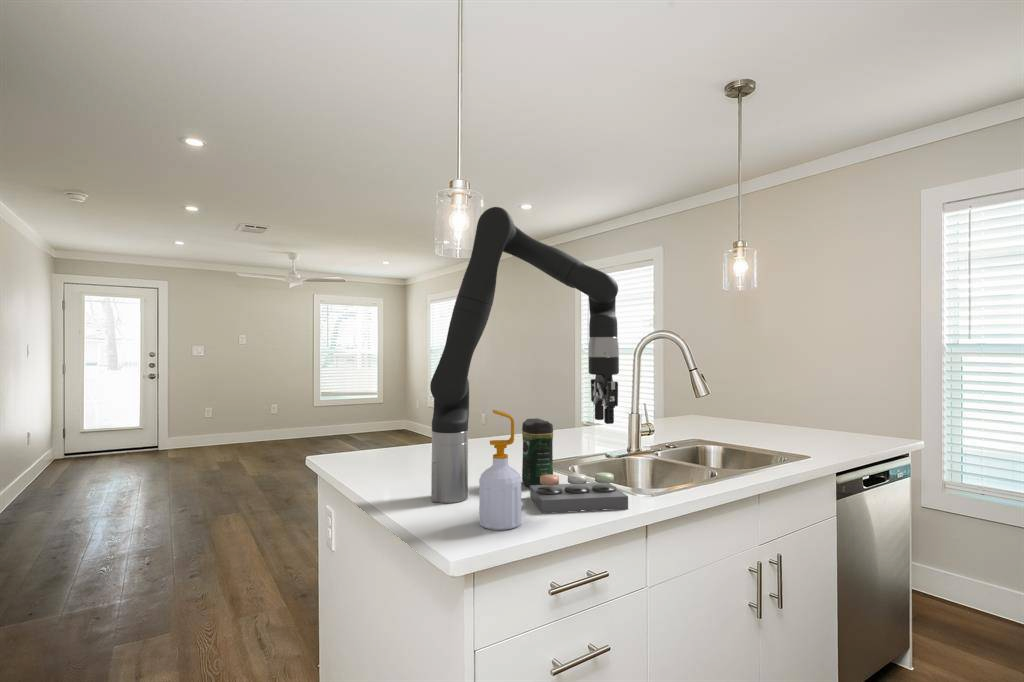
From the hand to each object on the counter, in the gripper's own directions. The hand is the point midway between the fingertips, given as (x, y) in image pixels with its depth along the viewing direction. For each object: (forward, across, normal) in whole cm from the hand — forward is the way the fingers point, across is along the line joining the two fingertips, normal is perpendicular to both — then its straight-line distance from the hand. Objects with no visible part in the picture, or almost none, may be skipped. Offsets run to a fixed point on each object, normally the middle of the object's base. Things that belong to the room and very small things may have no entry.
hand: (604, 421), depth 132 cm
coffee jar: (+20, -19, -13) cm, 31 cm away
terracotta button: (+15, 0, -14) cm, 20 cm away
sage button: (+15, 0, 0) cm, 15 cm away
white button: (+15, 0, -7) cm, 16 cm away
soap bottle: (+20, +13, -28) cm, 37 cm away
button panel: (+20, 0, -7) cm, 21 cm away
